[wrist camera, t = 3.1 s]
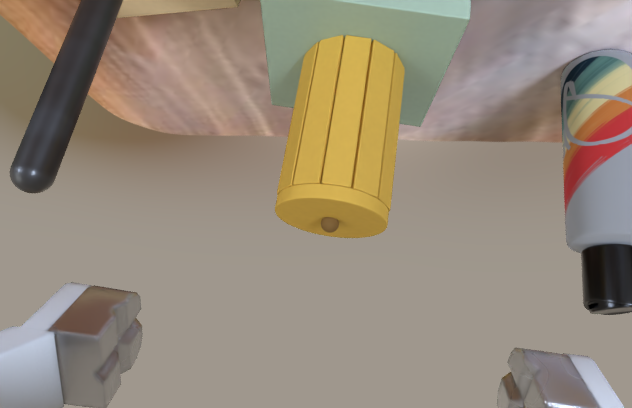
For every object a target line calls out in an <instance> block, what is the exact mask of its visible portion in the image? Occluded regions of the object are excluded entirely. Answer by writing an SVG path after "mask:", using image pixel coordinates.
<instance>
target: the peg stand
mask: <svg viewBox="0 0 632 408" xmlns="http://www.w3.org/2000/svg"><path fill="white" fill-rule="evenodd" d="M239 2H240V0H81V2H80V4H79V6H78V9H77V11H76V13H75V16H74V18H73V21H72V23H71V25H70V28H69V30H68V32H67V35H66V37H65V40H64V42H63V44H62V47H61V49H60V51H59V54H58V56H57V59H56V61H55V63H54V66H53V68H52V70H51V73H50V75H49V78H48V80H47V82H46V85H45V87H44V89H43V92H42V94H41V96H40V99H39V101H38V104H37V106H36V108H35V111H34V113H33V116H32V118H31V120H30V123H29V125H28V127H27V130H26V132H25V135H24V137H23V139H22V142H21V144H20V146H19V149H18V151H17V154H16V156H15V158H14V161H13V163H12V165H11V169H10V177H11V180H12V182H13V184H14V185H15V186H16V187H17V188H18V189H20V190H22V191H24V192H27V193H40V192H43V191H45V190H47V189H48V188H49V187H50V186H51V185H52V184H53V182H54V180H55V178H56V175H57V172H58V170H59V167H60V164H61V162H62V159H63V156H64V154H65V151H66V149H67V146H68V143H69V141H70V138H71V136H72V133H73V130H74V128H75V125H76V123H77V120H78V117H79V115H80V112H81V110H82V107H83V104H84V101H85V99H86V96H87V94H88V91H89V89H90V86H91V83H92V81H93V78H94V75H95V73H96V70H97V68H98V65H99V62H100V60H101V57H102V55H103V52H104V49H105V47H106V44H107V41H108V39H109V36H110V34H111V31H112V28H113V26H114V23H115V20H116V18H125V17H136V16H147V15H158V14H169V13H180V12H191V11H202V10H213V9H224V8H234V7H238V6H239Z"/></svg>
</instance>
